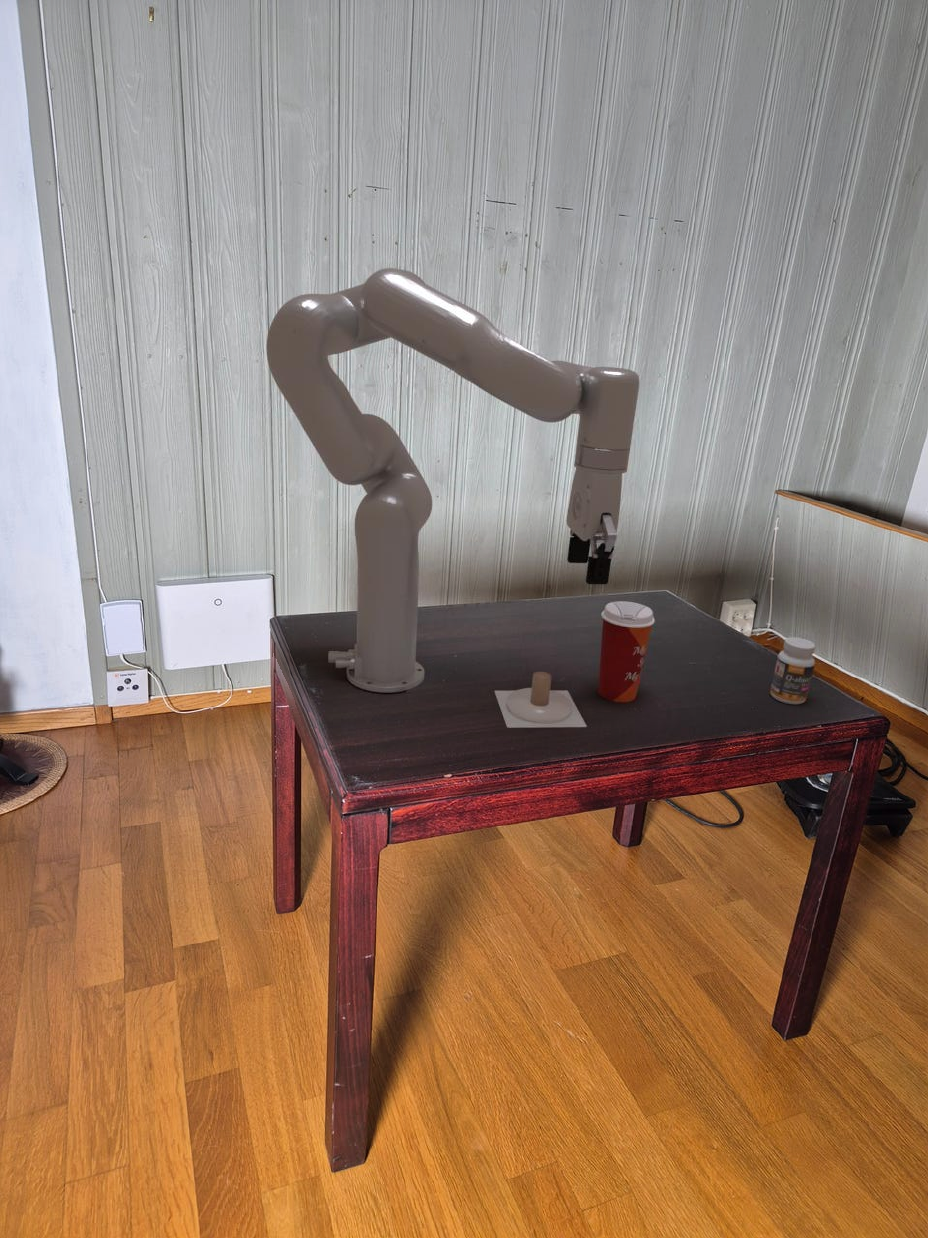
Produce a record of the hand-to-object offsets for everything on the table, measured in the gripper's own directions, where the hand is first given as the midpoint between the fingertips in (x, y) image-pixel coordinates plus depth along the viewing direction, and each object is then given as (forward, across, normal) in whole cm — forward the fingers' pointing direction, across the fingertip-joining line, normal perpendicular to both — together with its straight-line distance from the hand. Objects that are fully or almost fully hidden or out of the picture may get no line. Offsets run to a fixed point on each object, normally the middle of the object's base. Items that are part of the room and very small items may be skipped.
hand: (586, 572), depth 125 cm
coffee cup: (+21, -1, +8) cm, 23 cm away
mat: (+21, +3, -6) cm, 22 cm away
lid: (+21, +3, -6) cm, 22 cm away
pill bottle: (+21, +1, +37) cm, 43 cm away
